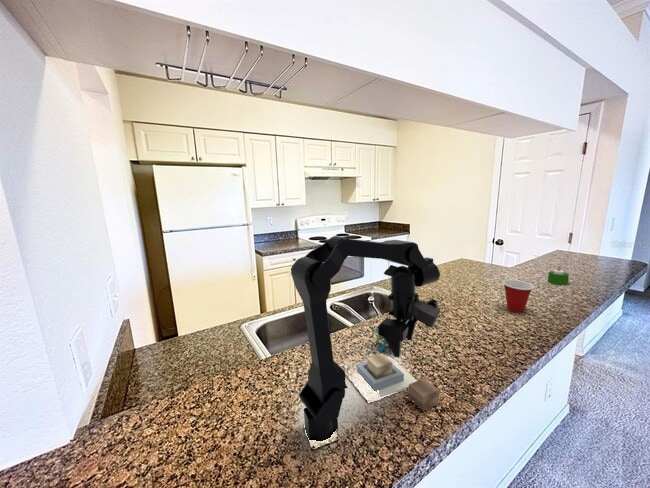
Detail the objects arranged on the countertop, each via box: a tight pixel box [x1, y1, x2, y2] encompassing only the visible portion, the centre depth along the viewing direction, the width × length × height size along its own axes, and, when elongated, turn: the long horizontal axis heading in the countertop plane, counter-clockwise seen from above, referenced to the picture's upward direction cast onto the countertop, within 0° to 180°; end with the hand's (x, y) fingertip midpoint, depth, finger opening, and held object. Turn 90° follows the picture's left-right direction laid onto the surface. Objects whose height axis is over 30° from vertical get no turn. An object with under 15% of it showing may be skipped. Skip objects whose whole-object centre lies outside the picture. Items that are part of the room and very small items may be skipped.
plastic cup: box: [502, 279, 535, 313], centre depth 116 cm, size 11×11×12 cm
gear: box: [374, 328, 402, 352], centre depth 92 cm, size 11×6×10 cm
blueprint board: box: [356, 356, 418, 397], centre depth 77 cm, size 16×14×3 cm
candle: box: [547, 264, 570, 286], centre depth 146 cm, size 8×8×10 cm
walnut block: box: [408, 378, 440, 412], centre depth 68 cm, size 5×5×4 cm
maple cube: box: [366, 352, 392, 380], centre depth 77 cm, size 5×5×5 cm
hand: (403, 347), depth 71 cm, fingers open, 9 cm apart
